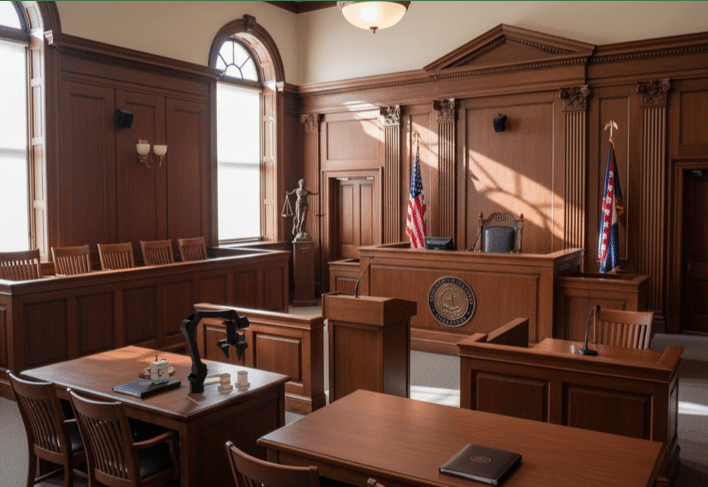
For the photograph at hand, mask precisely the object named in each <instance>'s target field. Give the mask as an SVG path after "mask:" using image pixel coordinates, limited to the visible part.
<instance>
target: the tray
mask: <svg viewBox="0 0 708 487" xmlns="http://www.w3.org/2000/svg"><path fill="white" fill-rule="evenodd" d="M220 374H221V373H212V374H211V373H210V374H207V376H206V378H205V381H204V383H203V384H204V386H208V385H213V384H218V383H219V384H220Z"/></svg>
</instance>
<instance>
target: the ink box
mask: <svg viewBox="0 0 708 487" xmlns="http://www.w3.org/2000/svg"><path fill="white" fill-rule="evenodd" d="M150 364H151V365H150V366H151V378H150V382H151V381H156V382H157V381H160V380H163V379H169V380H170V376H169V366H170V364H169V360H167V361H165V360H161V359H160V360H158V361H156V362H154V361H152V362H151V363H150Z"/></svg>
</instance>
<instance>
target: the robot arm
mask: <svg viewBox="0 0 708 487" xmlns="http://www.w3.org/2000/svg"><path fill="white" fill-rule="evenodd" d="M202 319H224V320H223V321H222V322H221V325H222V326H224V327H225V334H224V337H226V338H223V339H220V340H218V341H217V343H216V345H217V347H218V348H219V350H221V352H222V353H223V355H224V356H225V358H226V359H227V360H229V359H230V349H229V348H230V347H234V348H235V353H236V357H237V360H238V362H241V360H242V358H243V353H244V351H245V350H246V349H247V348H249V343H248V342H247V341H246V337H247V336H246V335H241V334H240V333H239V332H237V330H238V331H240V330H244V329H248V328H250V324H251V323H250V321H249V318H248V316H247V315H242V316H239V314H238V312H237V310H235V309H233V308H229V307H227V308H222V309H218V310H198V309H196V310H195V311H193V313H191V314H189V315H188V316H186V317H185V318H184V319H183V320H182V321H180V323H179V326H178V327H179V329H180V331H181V333H182V334H183V336H184V338H185V340H186V341H185V342H186V344H187V348H188V352H189V357H190V359H191V367H190V368H191V369H190V370H191V372H190V373H189V375H188V376H187V377H186V378H187V381H188V382H189V393H190V394H201V393H202V392H205V385H204V384H203V383H204V381H205V378H206V376H207V375H209V374H208V372H209V369H208V365H207V363H204V362H202V358H201V355H200V350H199V348H198V343H197V339H196V333H197V326H198V325H199V324H200V322H201V320H202Z"/></svg>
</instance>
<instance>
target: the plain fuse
mask: <svg viewBox="0 0 708 487" xmlns="http://www.w3.org/2000/svg"><path fill="white" fill-rule="evenodd" d="M248 373H249V372H248V371H247V370H238V371H237V370H236V374H237V375H236V376H237V381H236V382H237V383H239V384H241V388H243V387H248V382H249V381H248V377H249V376H248Z"/></svg>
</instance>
